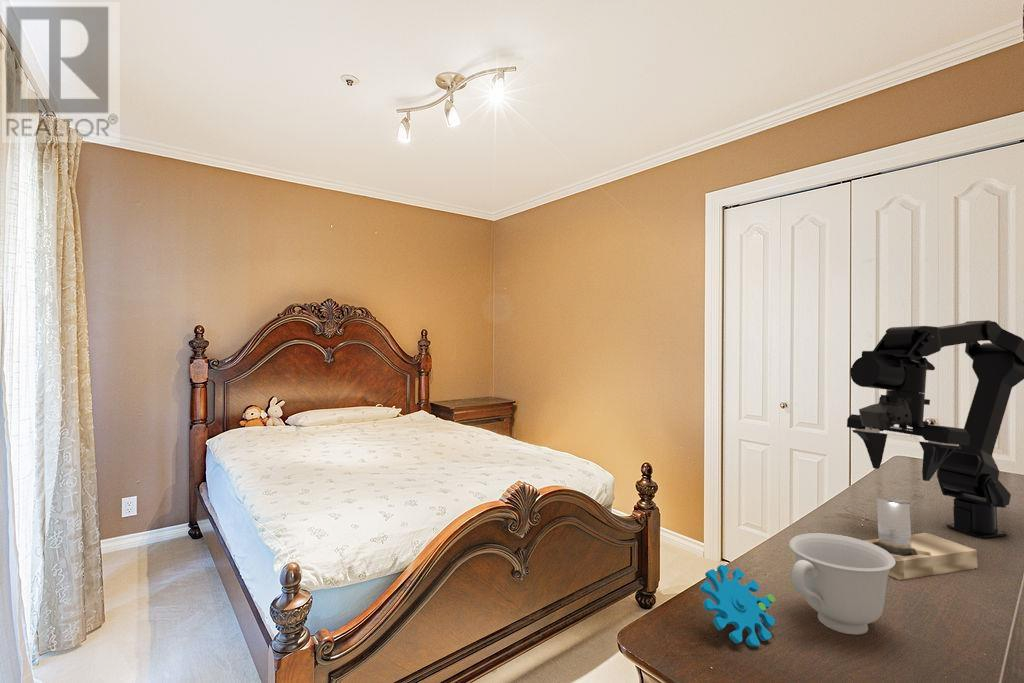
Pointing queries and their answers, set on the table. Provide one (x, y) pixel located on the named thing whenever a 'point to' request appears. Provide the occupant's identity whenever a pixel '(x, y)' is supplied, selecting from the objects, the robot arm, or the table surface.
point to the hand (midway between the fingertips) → (899, 474)
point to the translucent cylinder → (894, 525)
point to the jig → (931, 557)
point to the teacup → (841, 579)
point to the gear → (738, 605)
